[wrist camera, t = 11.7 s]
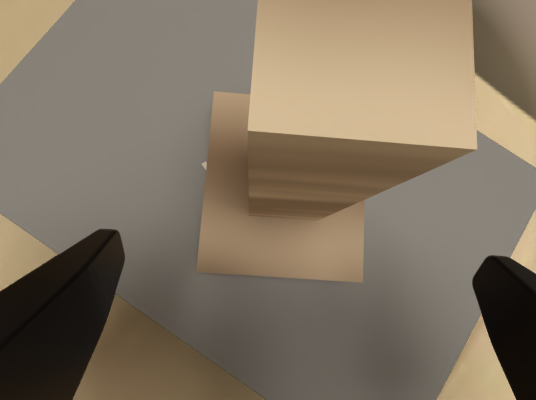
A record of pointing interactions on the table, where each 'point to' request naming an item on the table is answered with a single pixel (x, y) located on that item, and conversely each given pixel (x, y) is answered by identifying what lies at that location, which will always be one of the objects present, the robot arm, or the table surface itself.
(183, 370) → the table surface
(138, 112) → the board
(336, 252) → the wooden block tower
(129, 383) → the table surface
